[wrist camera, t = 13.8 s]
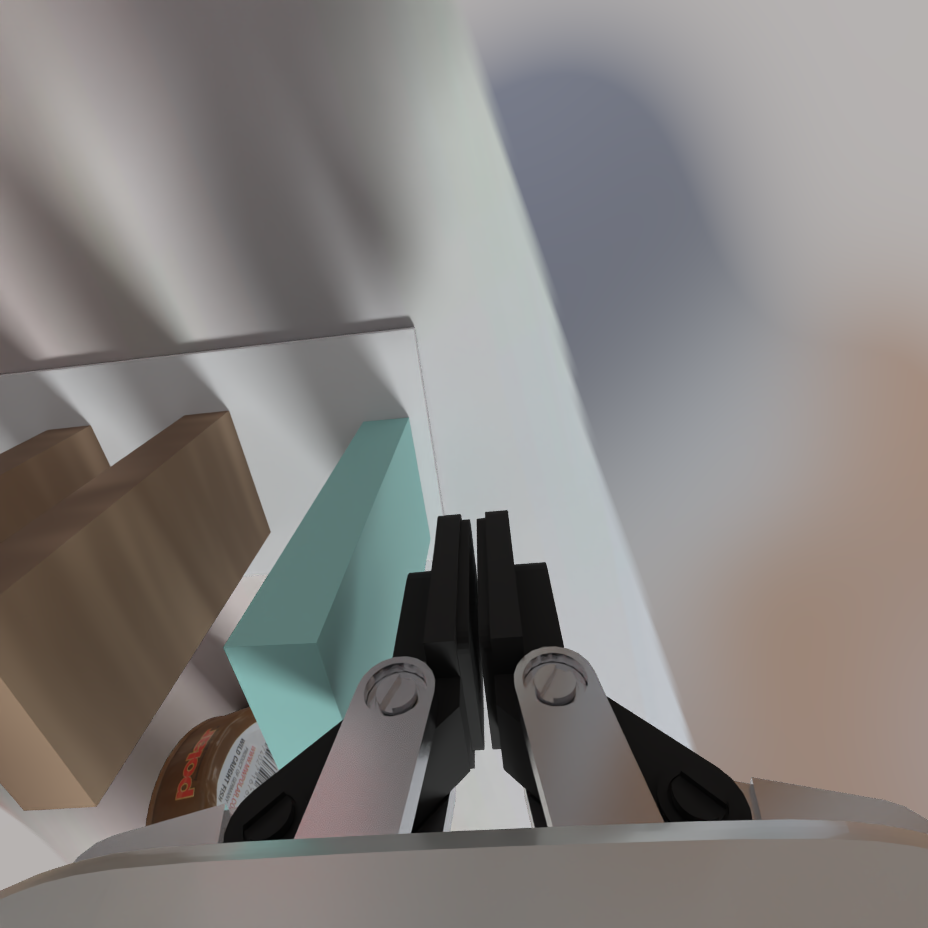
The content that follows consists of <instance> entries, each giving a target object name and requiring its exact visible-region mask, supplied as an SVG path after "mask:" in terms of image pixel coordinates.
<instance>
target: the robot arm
mask: <svg viewBox="0 0 928 928" xmlns="http://www.w3.org/2000/svg"><path fill="white" fill-rule="evenodd" d="M477 572H478V581H477V573H476V564H475V556H474V548H473V539H472V531H471V523H470V519H469V520H462V518H461V514H457V515H445V516H438V518H437V526H436V535H435V544H434V553H433V561H432V570H431V571H426V572H413V573H409V574H408V576H407V580H406V585H405V591H404V596H403V602H402V607H401V613H400V618H399V624H398V629H397V635H396V640H395V646H394V651H393V657H392V658H390V659H387V660H384V661H382V662H380V663H378V664H377V665H375V666H373V667H372V668H371V669H370V670H369V671H368V672H367V673H366V674H365V675H364V676H363V677H362V679H361V681H360V682H359V684H358V686H357V688H356V690H355V693H354V695H353V698H352V700H351V702H350V705H349V707H348V710H347V712H346V715H345V717H344V719H343V720H342V721H341V722H339V723H338V724H337V725H335V726H334V727H333V728H332V729H330V730H329V731H328V732H327V733H325V734H324V735H323V736H322V737H320V738H319V739H318V740H317V741H315V742H314V743H313V744H312V745H310V746H309V747H308V748H306V749H305V750H304V751H303V752H301V753H300V754H299V755H298V756H296V757H295V758H294V759H293V760H291V761H290V762H289V763H288V764H286V765H285V766H284V767H282V768H281V769H280V770H279V771H277V772H276V773H275V774H274V775H272V776H271V777H270V778H269V779H267V780H266V781H265V782H264V783H262V784H261V785H260V786H259V787H257V788H256V789H255V790H253V791H252V792H251V793H250V794H249V795H248V796H247V797H246V798H245V799H244V800H243V801H242V802H241V803H240V804H239V806H238V807H235V808H231V809H228V807H227V805H226V804H222V805H218V806H215V807H211V808H208V809H204V810H201V811H197V812H194V813H190V814H187V815H183V816H180V817H176V818H173V819H169V820H166V821H162V822H159V823H156V824H152V825H149V826H145V827H142V828H138V829H135V830H131V831H128V832H124V833H121V834H117V835H114V836H111V837H109V838H107V839H105V840H102V841H100V842H98V843H96V844H94V845H93V846H92V847H91V848H89V849H88V850H87V851H85V852H84V853H83V854H81V855H80V856H79V857H78V858H77V859H76V860H75V861H74V862H73V863H71V864H68V865H65V866H62V867H58V868H55V869H52V870H49V871H47V872H44V873H41V874H38V875H35V876H33V877H31V878H28V879H26V880H24V881H22V882H19V883H17V884H15V885H12V886H10V887H8V888H6V889H3V890H1V891H0V928H928V820H927V819H925V818H924V817H922V816H920V815H919V814H917V813H915V812H913V811H912V810H910V809H908V808H907V807H905V806H902V805H899V804H895V803H892V802H889V801H886V800H882V799H876V798H870V797H864V796H858V795H852V794H847V793H841V792H835V791H829V790H823V789H817V788H811V787H806V786H800V785H794V784H788V783H783V782H777V781H770V780H765V779H759V778H754V777H752V778H751V782H750V784H749V783H743V782H737V781H733V780H732V779H731V778H730V777H729V776H728V775H727V774H725V773H724V772H723V771H722V770H720V769H719V768H718V767H716V766H715V765H713V764H712V763H710V762H709V761H707V760H705V759H704V758H702V757H701V756H699V755H698V754H696V753H695V752H693V751H691V750H690V749H688V748H687V747H685V746H684V745H682V744H680V743H679V742H677V741H676V740H674V739H673V738H671V737H669V736H668V735H666V734H665V733H663V732H662V731H660V730H658V729H657V728H655V727H654V726H652V725H651V724H649V723H648V722H646V721H644V720H643V719H641V718H640V717H638V716H637V715H635V714H633V713H632V712H630V711H629V710H627V709H626V708H624V707H622V706H621V705H619V704H618V703H616V702H615V701H613V700H611V699H610V698H608V697H607V696H606V695H605V692H604V690H603V688H602V686H601V684H600V682H599V679H598V677H597V675H596V673H595V671H594V669H593V668H592V666H591V665H590V663H589V662H588V661H587V660H586V659H585V658H584V657H582V656H581V655H580V654H579V653H576V652H574V651H572V650H570V649H567V648H564V645H563V640H562V635H561V631H560V626H559V621H558V616H557V612H556V607H555V602H554V598H553V593H552V588H551V583H550V579H549V574H548V569H547V565H546V563H545V562H542V563H529V564H516V565H514V559H513V551H512V543H511V534H510V526H509V518H508V510H505V511H493V512H485V518H481V519H477ZM483 679H484V686H485V694H486V702H487V710H488V718H489V725H490V733H491V741H492V748H493V749H501V751H502V759H503V768H504V770H505V771H506V772H507V773H508V774H510V775H511V776H512V777H513V778H514V779H515V780H516V781H517V782H519V783H520V784H521V785H522V786H523V787H524V795H525V801H526V805H527V809H528V813H529V817H530V822H531V826H532V828H519V829H497V830H474V831H452V832H450V829H451V823H452V818H453V812H454V806H455V798H456V788H455V786H456V785H457V784H458V783H459V782H460V781H461V780H462V779H463V778H464V777H465V776H466V775H467V774H468V773H469V772H470V769H473V768H475V750H484V705H483Z"/></svg>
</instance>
